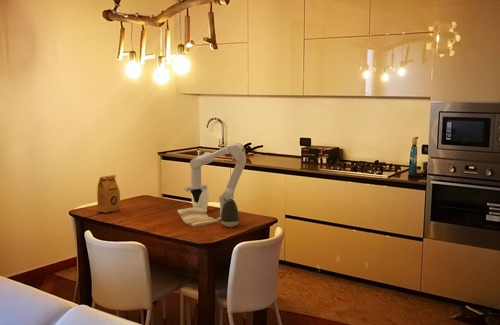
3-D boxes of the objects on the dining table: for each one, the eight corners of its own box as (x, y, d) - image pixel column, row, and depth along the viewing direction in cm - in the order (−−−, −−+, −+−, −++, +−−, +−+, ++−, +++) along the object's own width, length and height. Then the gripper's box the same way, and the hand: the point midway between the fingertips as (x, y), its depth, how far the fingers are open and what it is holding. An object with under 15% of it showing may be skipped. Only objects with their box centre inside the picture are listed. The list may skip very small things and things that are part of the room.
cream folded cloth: (208, 218, 299) (208, 216, 299) (184, 222, 289) (185, 221, 288) (200, 207, 304) (201, 205, 304) (177, 211, 294) (177, 209, 293)
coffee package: (123, 211, 317) (121, 175, 314) (105, 214, 308) (103, 177, 304) (113, 208, 323) (112, 173, 320) (95, 211, 314) (94, 175, 311)
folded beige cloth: (218, 222, 292) (218, 220, 291) (195, 226, 281) (195, 224, 281) (209, 219, 298) (209, 217, 298) (185, 223, 288) (185, 221, 288)
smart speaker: (231, 222, 291) (231, 195, 289) (243, 226, 283) (243, 199, 281) (216, 225, 285) (216, 198, 283) (227, 229, 277) (227, 201, 275)
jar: (200, 214, 310) (200, 189, 308) (188, 211, 316) (187, 187, 314) (212, 210, 318) (212, 186, 316) (200, 208, 325) (199, 184, 322)
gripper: (202, 176, 306) (202, 199, 308) (181, 179, 296) (181, 202, 298) (209, 178, 300) (209, 201, 302) (188, 181, 291) (188, 204, 293)
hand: (196, 202), depth 300 cm, fingers closed
